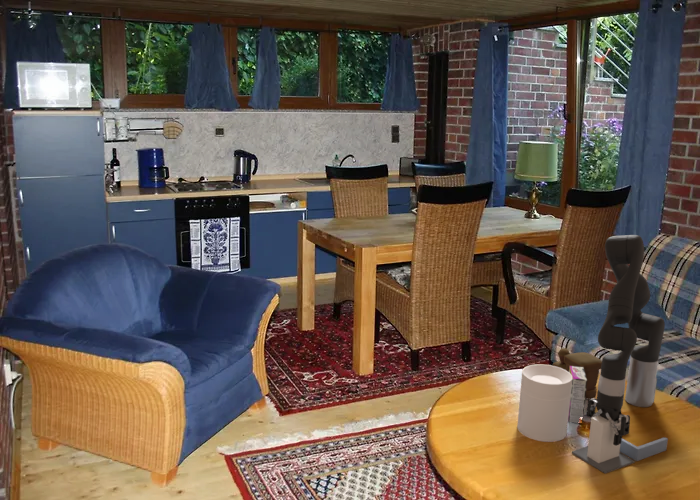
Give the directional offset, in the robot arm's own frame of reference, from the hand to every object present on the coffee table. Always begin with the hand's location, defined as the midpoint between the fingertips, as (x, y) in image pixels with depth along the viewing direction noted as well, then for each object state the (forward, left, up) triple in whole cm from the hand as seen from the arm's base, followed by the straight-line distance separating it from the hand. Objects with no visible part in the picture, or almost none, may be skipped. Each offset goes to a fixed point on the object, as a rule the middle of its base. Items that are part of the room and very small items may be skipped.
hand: (605, 438), depth 211 cm
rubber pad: (0, 0, -7) cm, 7 cm away
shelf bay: (-15, -2, -7) cm, 17 cm away
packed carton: (0, 0, -6) cm, 6 cm away
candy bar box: (-13, -24, -7) cm, 28 cm away
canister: (+4, -22, -7) cm, 23 cm away
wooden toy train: (-25, -37, -7) cm, 45 cm away
